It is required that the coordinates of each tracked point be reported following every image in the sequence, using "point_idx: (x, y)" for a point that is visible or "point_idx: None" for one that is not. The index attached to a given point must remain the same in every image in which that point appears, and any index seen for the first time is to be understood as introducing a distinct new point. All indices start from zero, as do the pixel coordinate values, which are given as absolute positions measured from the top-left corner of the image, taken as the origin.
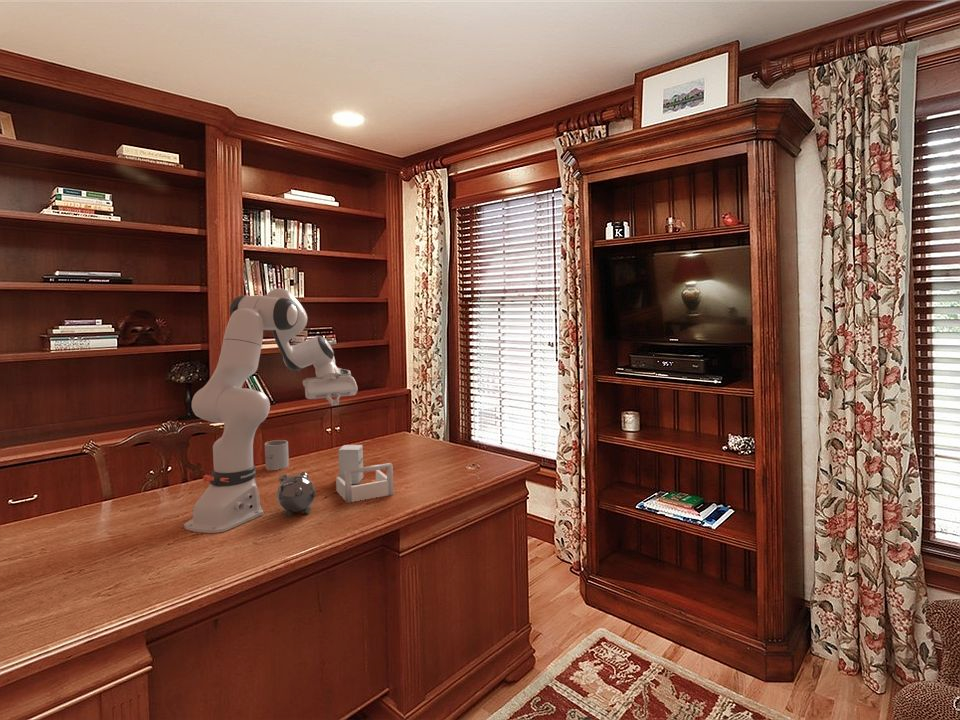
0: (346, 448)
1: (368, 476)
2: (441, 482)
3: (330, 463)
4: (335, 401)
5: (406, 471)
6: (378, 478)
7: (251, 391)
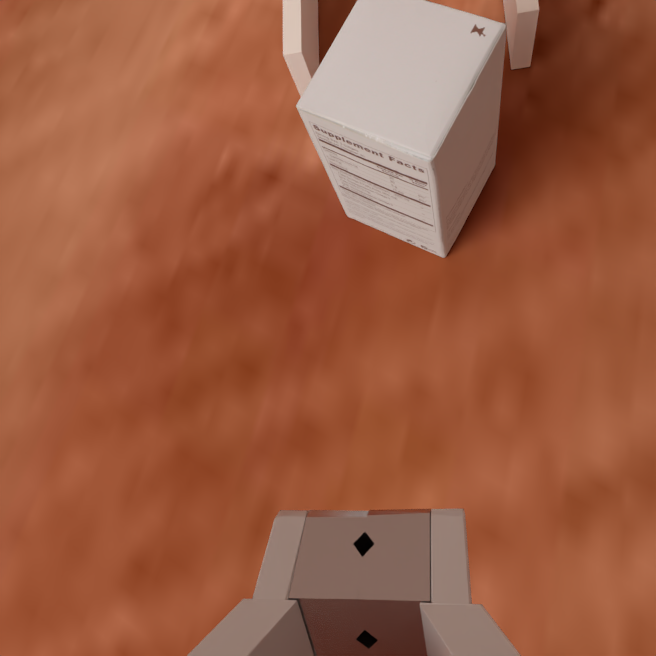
0: (438, 35)
1: (315, 230)
2: (71, 29)
3: None
4: (360, 536)
5: (120, 230)
6: (309, 38)
7: None
